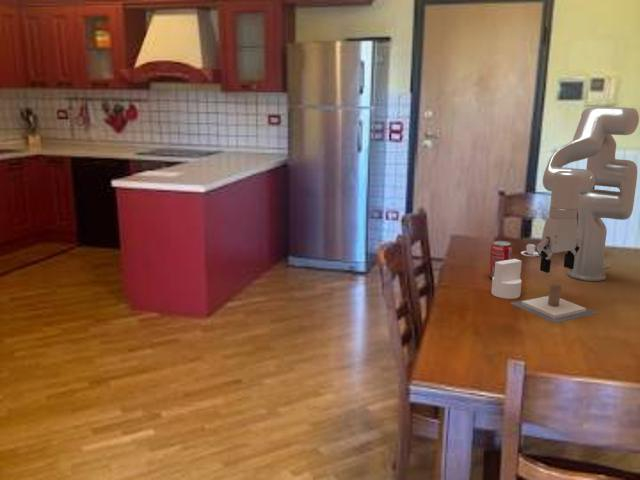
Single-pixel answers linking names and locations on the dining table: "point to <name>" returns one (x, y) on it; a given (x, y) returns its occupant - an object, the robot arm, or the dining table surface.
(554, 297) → the lid
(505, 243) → the soda can
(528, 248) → the teacup and saucer
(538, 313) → the mat
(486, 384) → the dining table surface
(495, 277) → the cylinder with rectangular tab
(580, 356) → the dining table surface
